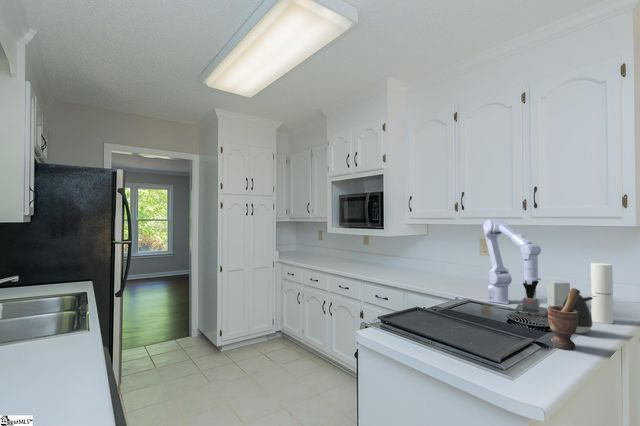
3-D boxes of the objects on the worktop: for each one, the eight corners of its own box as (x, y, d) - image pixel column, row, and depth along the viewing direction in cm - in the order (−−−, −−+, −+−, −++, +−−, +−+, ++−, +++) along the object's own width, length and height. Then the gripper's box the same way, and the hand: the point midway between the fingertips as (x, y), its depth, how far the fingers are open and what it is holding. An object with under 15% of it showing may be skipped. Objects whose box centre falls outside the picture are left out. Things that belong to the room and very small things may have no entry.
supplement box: (570, 308, 163) (570, 283, 163) (553, 307, 164) (553, 282, 164) (562, 304, 170) (562, 280, 170) (546, 304, 171) (546, 279, 171)
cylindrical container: (608, 324, 138) (607, 265, 138) (588, 320, 144) (587, 263, 145) (616, 322, 141) (615, 264, 142) (596, 317, 148) (595, 262, 148)
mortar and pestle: (555, 337, 124) (555, 284, 124) (584, 344, 117) (583, 288, 117) (544, 345, 117) (543, 289, 117) (574, 353, 110) (573, 293, 110)
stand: (515, 312, 156) (514, 300, 156) (518, 307, 166) (518, 295, 166) (545, 317, 149) (545, 304, 149) (547, 311, 158) (547, 298, 158)
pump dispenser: (596, 338, 123) (595, 297, 123) (562, 333, 128) (561, 294, 129) (590, 329, 132) (589, 292, 132) (558, 325, 137) (557, 289, 137)
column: (525, 308, 157) (525, 291, 157) (526, 306, 160) (526, 289, 160) (535, 310, 154) (535, 292, 154) (536, 308, 158) (536, 290, 158)
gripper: (539, 271, 149) (539, 301, 149) (541, 267, 161) (542, 295, 161) (521, 269, 154) (521, 298, 154) (525, 266, 165) (525, 293, 165)
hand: (531, 296), depth 157 cm, fingers open, 6 cm apart
